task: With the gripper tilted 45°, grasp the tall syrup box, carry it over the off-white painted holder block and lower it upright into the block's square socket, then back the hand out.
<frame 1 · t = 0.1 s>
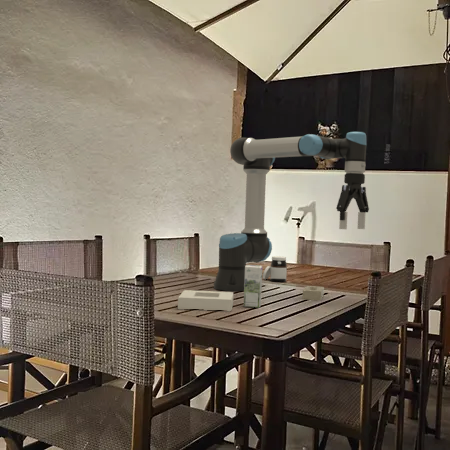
hand: (352, 229, 208), 28 cm above the table, tool pointing down, fingers open, 13 cm apart
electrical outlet: (313, 297, 220), on the table
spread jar: (274, 281, 262), on the table
syrup box: (252, 306, 193), on the table
holder block: (206, 306, 191), on the table
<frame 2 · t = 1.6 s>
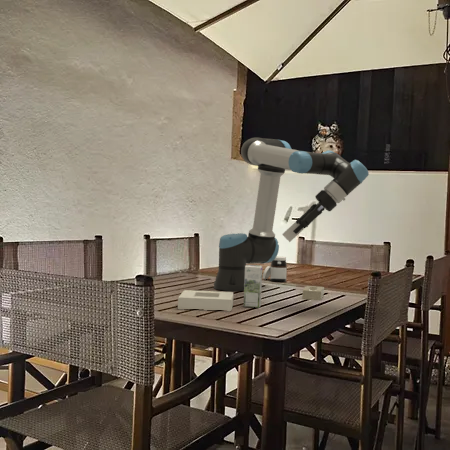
hand: (285, 238, 192), 25 cm above the table, tool tilted 45°, fingers open, 13 cm apart
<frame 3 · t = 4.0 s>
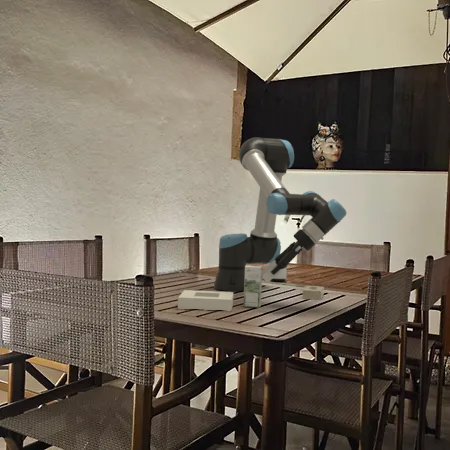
hand: (264, 277, 192), 11 cm above the table, tool tilted 45°, fingers open, 13 cm apart
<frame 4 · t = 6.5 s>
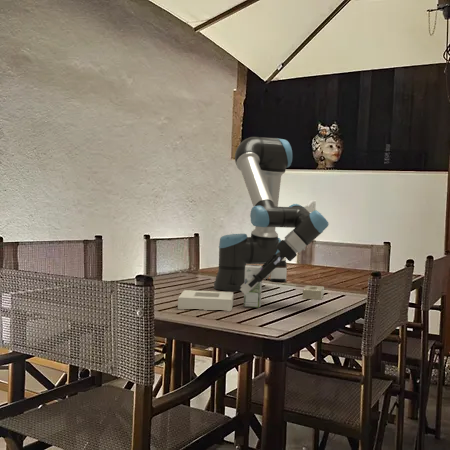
hand: (242, 290, 193), 5 cm above the table, tool tilted 45°, fingers closed on syrup box, 6 cm apart
syrup box: (252, 306, 193), on the table, touching gripper
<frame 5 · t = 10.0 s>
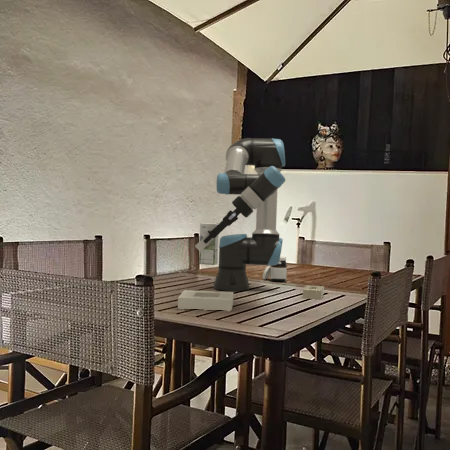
hand: (198, 248, 190), 20 cm above the table, tool tilted 45°, fingers closed on syrup box, 6 cm apart
syrup box: (208, 264, 190), point 15 cm above the table, touching gripper
when the fingers open (7 cm above the table, at t = 13.9 s): syrup box drops 1 cm, resting in holder block.
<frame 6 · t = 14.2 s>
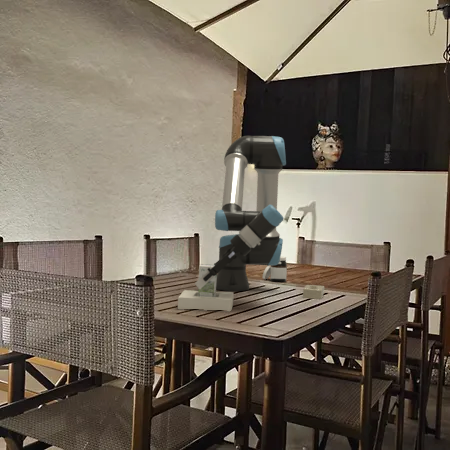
hand: (198, 284, 190), 8 cm above the table, tool tilted 45°, fingers open, 10 cm apart
syrup box: (206, 306, 190), resting in holder block
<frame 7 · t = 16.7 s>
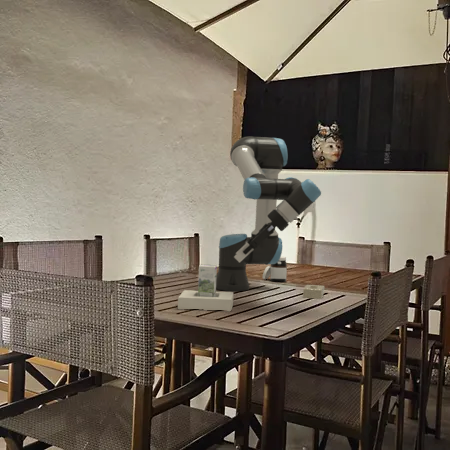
hand: (237, 257, 189), 17 cm above the table, tool tilted 45°, fingers open, 13 cm apart
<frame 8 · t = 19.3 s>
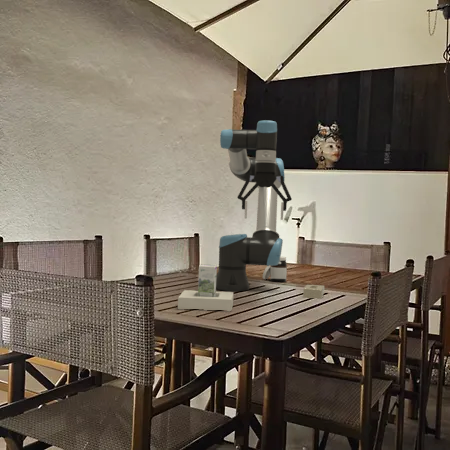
hand: (263, 219, 205), 31 cm above the table, tool pointing down, fingers open, 13 cm apart
at the end: syrup box 0.2 cm off-centre on the holder block, point 0.0 cm above the holder block's base; syrup box tilted 0°; the gripper is holding nothing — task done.
